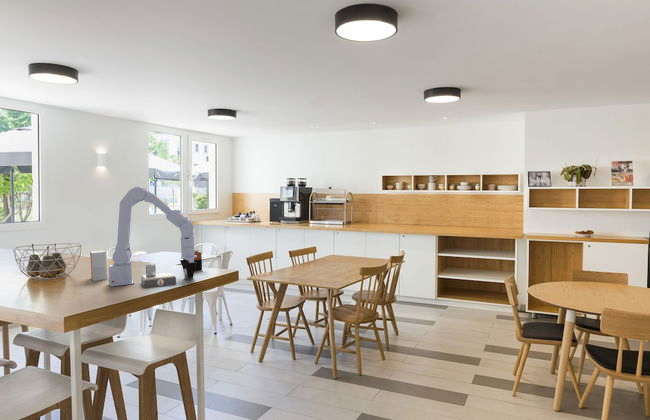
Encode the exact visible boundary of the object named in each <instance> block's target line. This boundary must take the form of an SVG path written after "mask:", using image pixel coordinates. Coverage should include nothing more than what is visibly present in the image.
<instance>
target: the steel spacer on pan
mask: <svg viewBox="0 0 650 420" xmlns="http://www.w3.org/2000/svg"><path fill="white" fill-rule="evenodd" d="M156 274H157V270H156V264H155V263H153V264H152V263H151V264H146V265H145V275H146V277H155V276H156Z"/></svg>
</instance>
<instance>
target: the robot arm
mask: <svg viewBox="0 0 650 420" xmlns="http://www.w3.org/2000/svg"><path fill="white" fill-rule="evenodd" d="M142 201H144V202H145V203H150V204H152V205H153V206H154V207H156V208H158V209H159V210H160V211H162V212H163V213H164V214H165V219H167V221H169V222H171V224H172V225H174V226H175V227H176V228H179V230H180V236H181V237H180V250H181V255H180V256H181V257H180V260H179V262H180V264H181V266H182V271H183V272H184V268H186V270H187V276H188V278H192V277H193V278H194V275H195V271H194V270H195V267H196V264H197V262H194V258H195V257H197V255H194V251H195V237H194V227H195V226H194V223H193V222H192V220H190V219H189V217H186V216H185V215H184V214H182V213H181V210H179V209H176V208H170V207H169V206H168V205H167V204H166V203H165V202H163V200H162V199H160V198H159V197H158V196H157V195H156V194H154V193H153V192H151V191H150V190H148V189H147V188H145V187H144V186H134V187H133V188H131V189H128V190H127V193H126V194H125V195H124V196H123V197H122V199H121V200H120V202H119V209H118V226H117V241H116V245H115V248H114V249H115V250H114V252H113V254H112V258H111V259H112V262H113V264H109V265H108V283H109V286H110V287H117V286H118V287H119V286H126V285H133V284H135V283H134V281H133V270H132V269H133V268H132V261H131V260H130V259H131V258H132V255H133V254H132V251H131V249H130V248H131V247H130V246H131V245H130V238H131V235H130V234H131V224H132V223H131V222H132V208H133V207H134V206H135V205H137V204H138V203H140V202H142Z"/></svg>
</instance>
